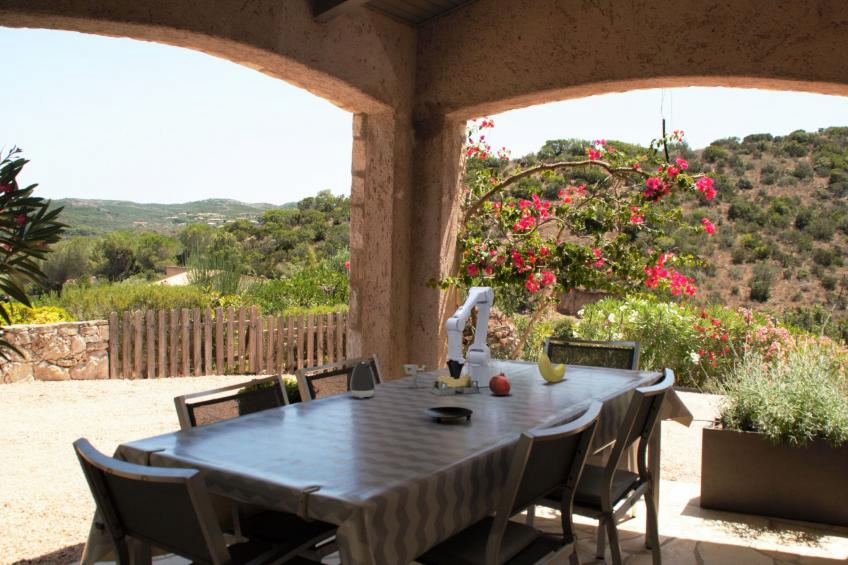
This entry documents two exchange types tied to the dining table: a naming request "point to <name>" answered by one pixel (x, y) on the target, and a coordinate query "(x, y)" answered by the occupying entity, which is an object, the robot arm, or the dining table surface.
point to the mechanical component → (413, 372)
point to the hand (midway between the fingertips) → (455, 378)
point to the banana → (550, 368)
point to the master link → (455, 381)
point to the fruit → (499, 384)
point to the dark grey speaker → (362, 380)
